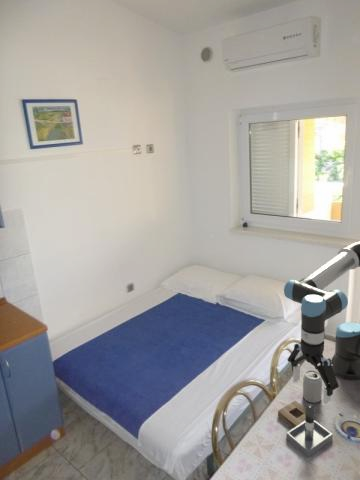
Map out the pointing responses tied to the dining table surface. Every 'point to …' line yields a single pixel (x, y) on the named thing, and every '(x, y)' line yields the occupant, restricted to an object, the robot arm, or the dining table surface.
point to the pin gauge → (309, 422)
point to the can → (312, 386)
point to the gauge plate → (293, 408)
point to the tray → (307, 447)
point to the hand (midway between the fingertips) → (311, 390)
